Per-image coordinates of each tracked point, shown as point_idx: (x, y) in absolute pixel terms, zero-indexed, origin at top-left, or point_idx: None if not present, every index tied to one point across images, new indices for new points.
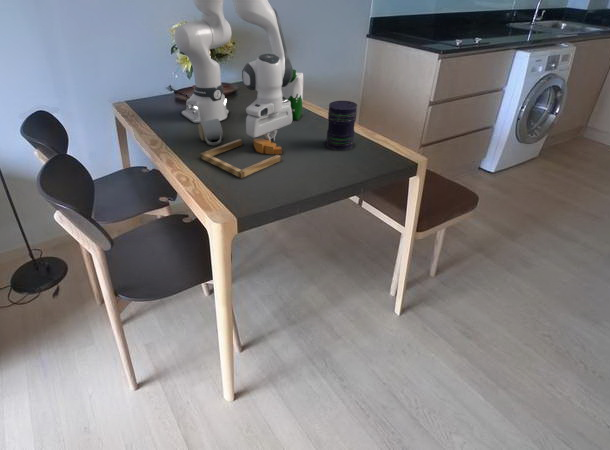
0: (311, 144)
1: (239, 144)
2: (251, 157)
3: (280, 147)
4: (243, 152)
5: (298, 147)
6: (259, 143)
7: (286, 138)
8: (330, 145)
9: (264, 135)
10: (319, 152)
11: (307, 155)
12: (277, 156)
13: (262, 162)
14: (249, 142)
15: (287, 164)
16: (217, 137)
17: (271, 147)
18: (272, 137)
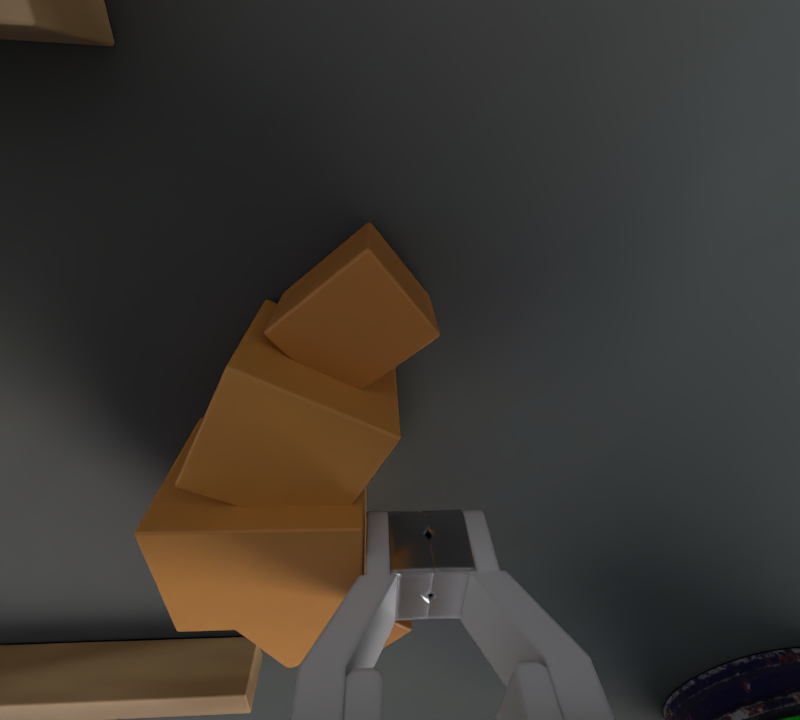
0: (694, 614)
1: (17, 34)
2: (53, 494)
3: (386, 641)
4: (6, 332)
5: (583, 596)
6: (161, 595)
7: (776, 410)
8: (690, 714)
9: (320, 639)
10: None
11: (482, 683)
12: (218, 710)
13: (20, 716)
14: (335, 69)
15: (267, 692)
16: None
17: (274, 648)
18: (449, 611)
